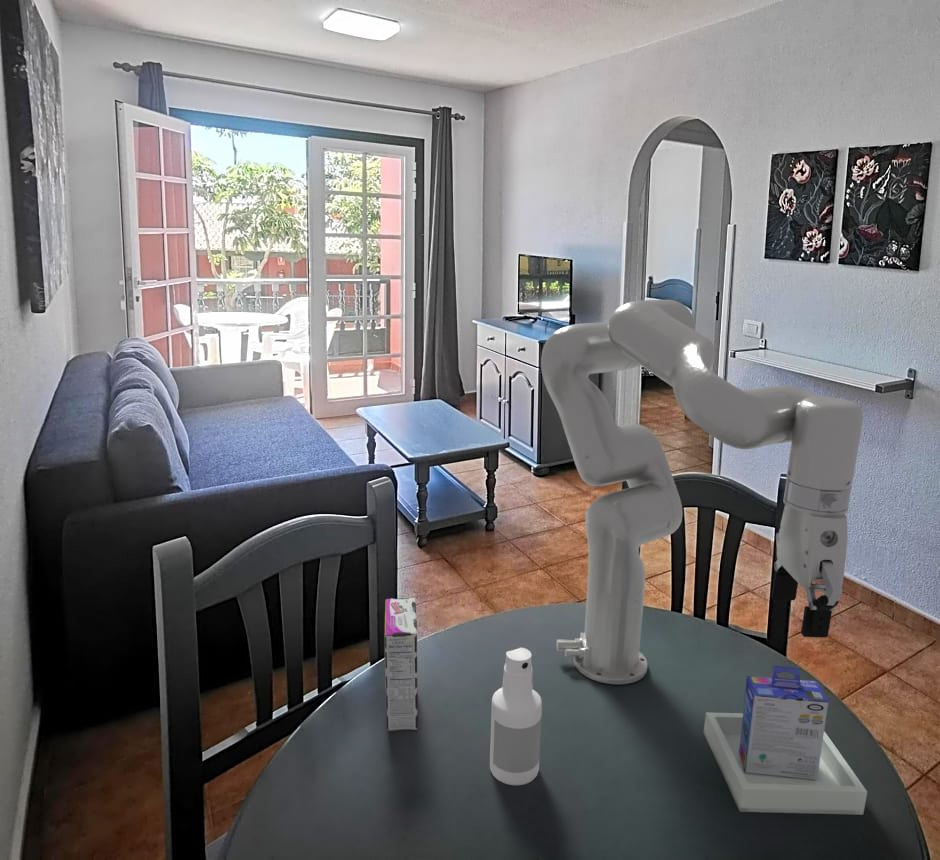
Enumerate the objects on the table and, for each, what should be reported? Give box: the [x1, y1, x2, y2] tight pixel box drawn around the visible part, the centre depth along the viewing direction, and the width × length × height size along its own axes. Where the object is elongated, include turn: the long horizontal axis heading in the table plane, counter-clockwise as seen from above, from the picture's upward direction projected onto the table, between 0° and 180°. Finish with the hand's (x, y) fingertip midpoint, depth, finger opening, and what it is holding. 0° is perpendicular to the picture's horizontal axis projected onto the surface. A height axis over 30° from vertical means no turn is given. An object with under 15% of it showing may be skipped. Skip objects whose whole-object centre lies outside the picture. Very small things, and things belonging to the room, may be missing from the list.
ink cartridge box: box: [739, 664, 830, 780], centre depth 103 cm, size 10×6×14 cm, turn 83°
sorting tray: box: [703, 711, 868, 816], centre depth 104 cm, size 16×16×4 cm
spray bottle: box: [489, 647, 543, 786], centre depth 101 cm, size 7×7×18 cm
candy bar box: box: [384, 597, 419, 732], centre depth 114 cm, size 11×5×16 cm, turn 6°
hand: (797, 616), depth 99 cm, fingers open, 9 cm apart
